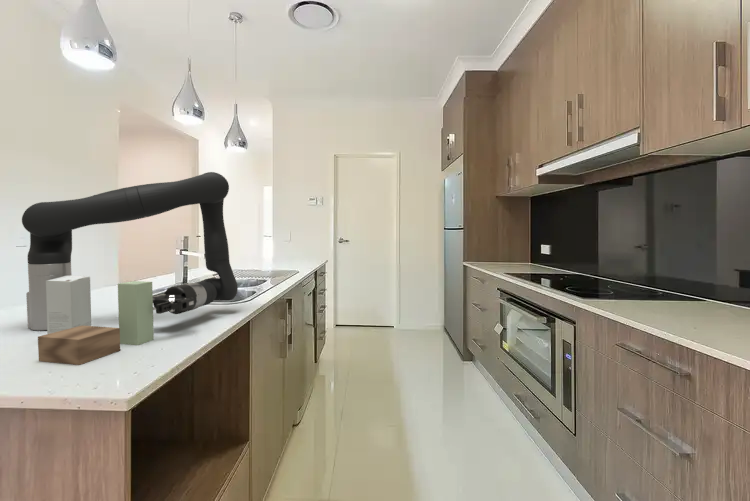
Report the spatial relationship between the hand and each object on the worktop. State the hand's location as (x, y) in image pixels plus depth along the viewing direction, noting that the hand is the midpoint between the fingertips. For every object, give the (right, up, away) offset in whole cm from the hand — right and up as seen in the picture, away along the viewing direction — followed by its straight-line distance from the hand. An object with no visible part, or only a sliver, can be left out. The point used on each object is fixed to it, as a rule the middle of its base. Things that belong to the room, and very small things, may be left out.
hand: (141, 308), depth 103 cm
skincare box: (-18, -8, +2) cm, 20 cm away
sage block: (0, -8, -1) cm, 8 cm away
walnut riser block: (-6, -8, -12) cm, 16 cm away
